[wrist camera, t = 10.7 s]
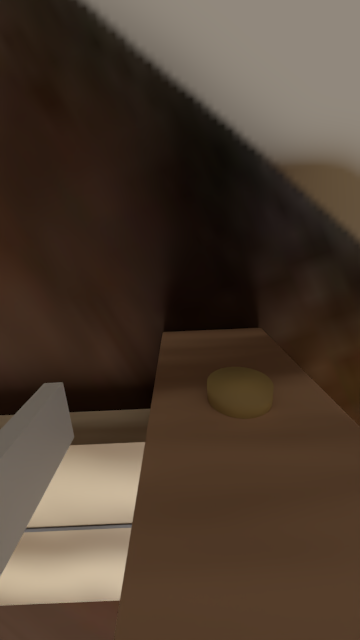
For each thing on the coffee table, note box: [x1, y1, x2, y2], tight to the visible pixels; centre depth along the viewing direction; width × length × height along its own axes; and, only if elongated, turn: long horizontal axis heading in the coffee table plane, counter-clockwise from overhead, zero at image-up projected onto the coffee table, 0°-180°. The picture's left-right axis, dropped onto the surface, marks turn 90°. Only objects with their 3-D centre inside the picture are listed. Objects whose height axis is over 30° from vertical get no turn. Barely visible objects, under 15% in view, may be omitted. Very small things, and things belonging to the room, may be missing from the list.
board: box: [0, 409, 150, 606], centre depth 15 cm, size 12×24×3 cm, turn 93°
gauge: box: [114, 328, 360, 640], centre depth 10 cm, size 15×5×10 cm, turn 3°
